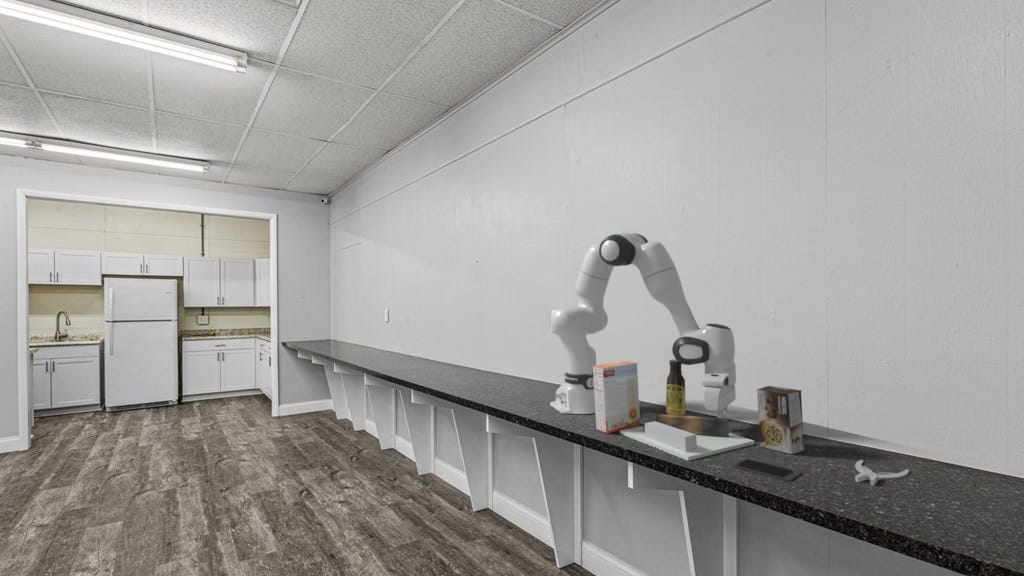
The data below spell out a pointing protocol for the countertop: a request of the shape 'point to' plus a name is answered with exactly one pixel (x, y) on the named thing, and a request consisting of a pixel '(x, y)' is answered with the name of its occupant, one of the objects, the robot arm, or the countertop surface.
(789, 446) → the coffee box
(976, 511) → the countertop surface
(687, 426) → the lever
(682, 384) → the sauce bottle
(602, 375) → the cracker box
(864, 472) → the pliers
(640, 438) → the press board
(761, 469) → the cell phone
